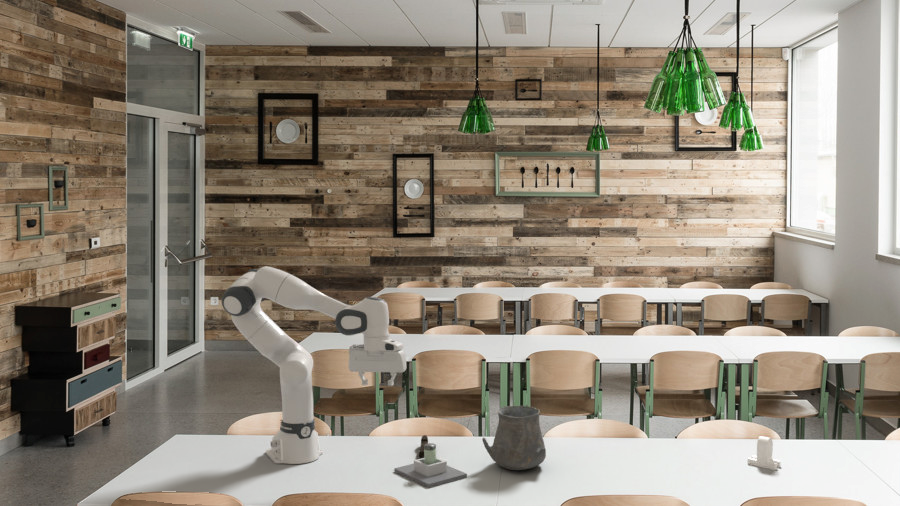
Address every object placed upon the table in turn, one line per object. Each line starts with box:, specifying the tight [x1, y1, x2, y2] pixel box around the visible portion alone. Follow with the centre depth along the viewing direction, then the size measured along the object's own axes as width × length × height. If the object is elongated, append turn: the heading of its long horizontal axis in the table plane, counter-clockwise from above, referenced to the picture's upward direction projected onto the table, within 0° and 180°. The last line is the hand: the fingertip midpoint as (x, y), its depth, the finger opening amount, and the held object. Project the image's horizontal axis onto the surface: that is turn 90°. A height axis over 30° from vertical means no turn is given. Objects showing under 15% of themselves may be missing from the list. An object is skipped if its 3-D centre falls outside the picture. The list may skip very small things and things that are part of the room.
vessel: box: [482, 405, 547, 471], centre depth 286 cm, size 22×22×20 cm
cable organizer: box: [747, 435, 781, 471], centre depth 285 cm, size 5×10×10 cm, turn 47°
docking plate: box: [393, 456, 468, 489], centre depth 277 cm, size 20×16×5 cm
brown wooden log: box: [418, 434, 429, 459], centre depth 301 cm, size 19×4×5 cm, turn 179°
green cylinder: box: [424, 442, 437, 465], centre depth 277 cm, size 4×4×9 cm
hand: (377, 385), depth 278 cm, fingers open, 8 cm apart
